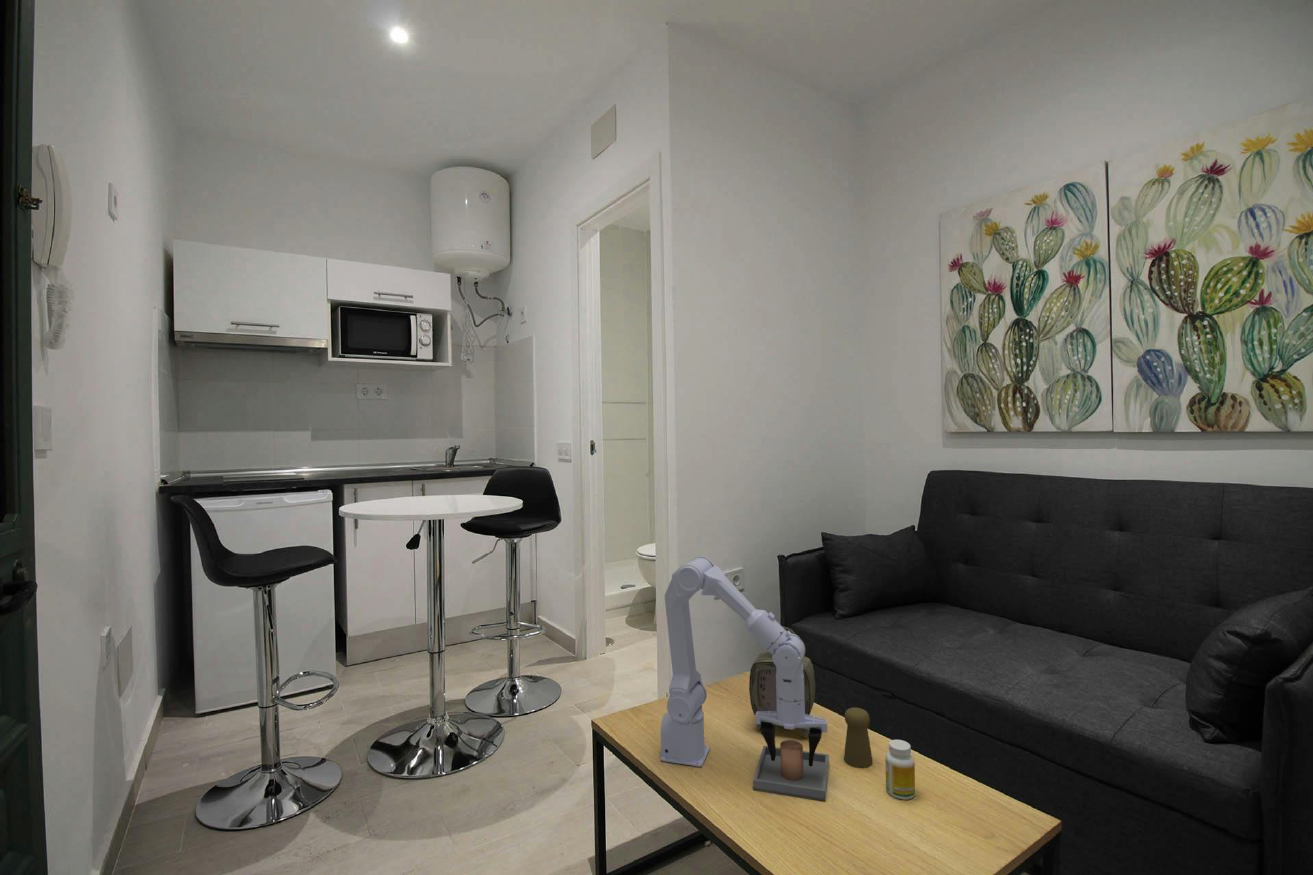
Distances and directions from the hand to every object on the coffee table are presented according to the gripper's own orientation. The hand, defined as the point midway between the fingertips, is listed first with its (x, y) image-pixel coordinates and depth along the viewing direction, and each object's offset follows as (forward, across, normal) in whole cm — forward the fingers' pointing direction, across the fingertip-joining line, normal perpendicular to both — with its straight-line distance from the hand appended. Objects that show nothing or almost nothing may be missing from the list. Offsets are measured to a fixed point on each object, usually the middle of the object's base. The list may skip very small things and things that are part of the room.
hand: (792, 760), depth 127 cm
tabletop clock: (+3, -4, +20) cm, 21 cm away
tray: (+3, 0, 0) cm, 3 cm away
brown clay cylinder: (+3, 0, 0) cm, 3 cm away
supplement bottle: (+3, +21, 0) cm, 21 cm away
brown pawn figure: (+3, +13, +10) cm, 17 cm away
